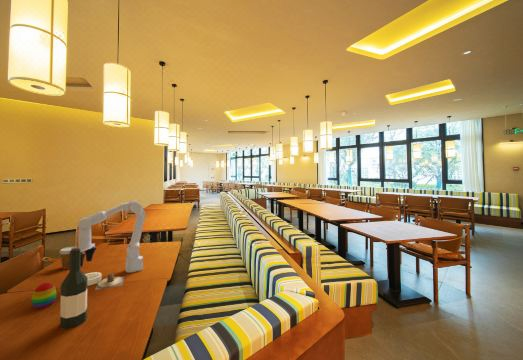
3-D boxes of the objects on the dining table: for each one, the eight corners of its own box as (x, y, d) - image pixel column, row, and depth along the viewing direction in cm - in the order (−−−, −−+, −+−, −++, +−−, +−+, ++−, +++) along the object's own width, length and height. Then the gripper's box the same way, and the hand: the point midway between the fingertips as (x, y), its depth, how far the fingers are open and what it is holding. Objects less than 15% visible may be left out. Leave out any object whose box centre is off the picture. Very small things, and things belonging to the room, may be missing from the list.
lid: (123, 276, 129) (123, 269, 129) (121, 284, 119) (121, 276, 119) (99, 280, 123) (99, 272, 123) (96, 289, 114) (96, 280, 114)
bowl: (102, 277, 129) (102, 271, 128) (99, 285, 120) (99, 278, 120) (80, 281, 124) (80, 274, 124) (75, 289, 115) (75, 282, 115)
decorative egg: (44, 299, 105) (44, 278, 105) (61, 300, 105) (61, 279, 105) (25, 309, 97) (26, 287, 97) (43, 310, 97) (44, 287, 97)
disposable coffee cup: (67, 271, 137) (67, 251, 136) (54, 269, 138) (55, 250, 138) (82, 265, 146) (82, 247, 146) (70, 263, 148) (71, 245, 148)
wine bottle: (70, 316, 93) (72, 245, 93) (91, 315, 94) (93, 245, 94) (54, 329, 85) (55, 251, 85) (77, 328, 86) (78, 251, 86)
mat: (124, 277, 129) (124, 276, 129) (122, 286, 119) (122, 285, 119) (98, 282, 124) (98, 280, 124) (94, 291, 113) (94, 290, 113)
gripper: (85, 236, 130) (85, 259, 131) (67, 243, 116) (67, 269, 116) (98, 235, 131) (98, 258, 131) (82, 243, 117) (81, 268, 117)
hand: (84, 263), depth 124 cm, fingers open, 7 cm apart
